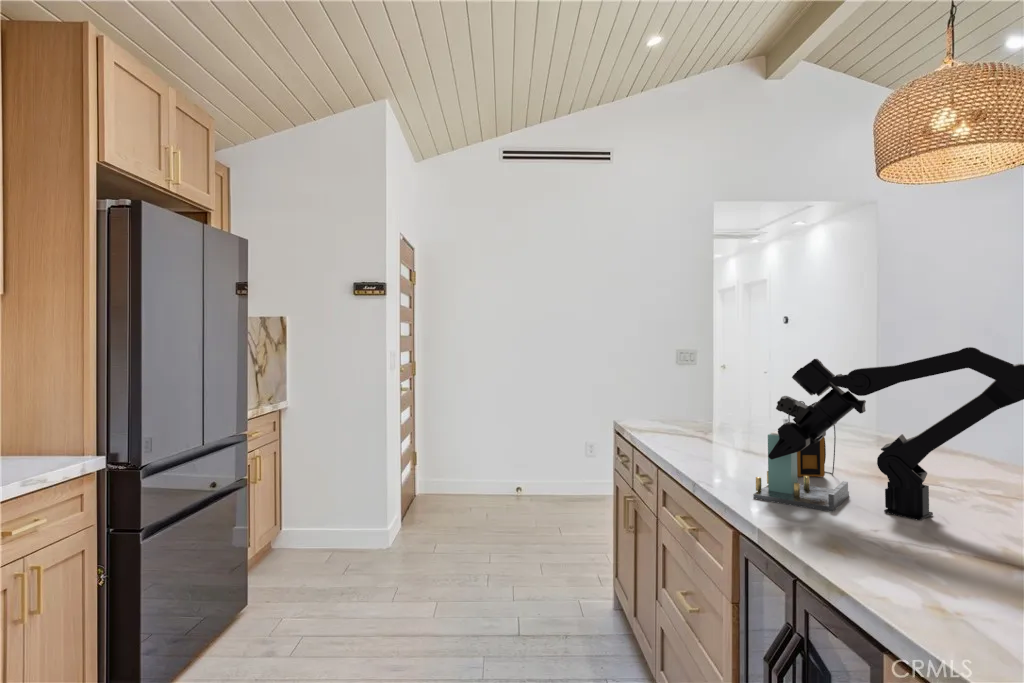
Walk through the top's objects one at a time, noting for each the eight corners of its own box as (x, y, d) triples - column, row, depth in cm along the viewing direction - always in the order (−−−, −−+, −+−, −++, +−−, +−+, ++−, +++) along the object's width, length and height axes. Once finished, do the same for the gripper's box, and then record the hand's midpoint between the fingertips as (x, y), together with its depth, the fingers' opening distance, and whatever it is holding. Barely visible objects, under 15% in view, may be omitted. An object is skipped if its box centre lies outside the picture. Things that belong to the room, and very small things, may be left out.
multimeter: (822, 469, 154) (821, 397, 154) (839, 477, 144) (838, 401, 144) (767, 468, 155) (766, 397, 155) (781, 477, 145) (780, 401, 145)
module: (797, 489, 129) (796, 432, 129) (791, 494, 125) (790, 435, 125) (774, 486, 132) (773, 430, 133) (768, 490, 129) (767, 433, 129)
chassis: (849, 495, 127) (848, 478, 127) (832, 512, 115) (832, 492, 115) (772, 484, 138) (772, 468, 138) (750, 497, 126) (750, 480, 126)
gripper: (810, 382, 133) (763, 424, 141) (787, 387, 120) (736, 433, 127) (848, 417, 128) (797, 458, 135) (829, 426, 114) (773, 472, 122)
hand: (775, 454), depth 130 cm, fingers open, 9 cm apart
